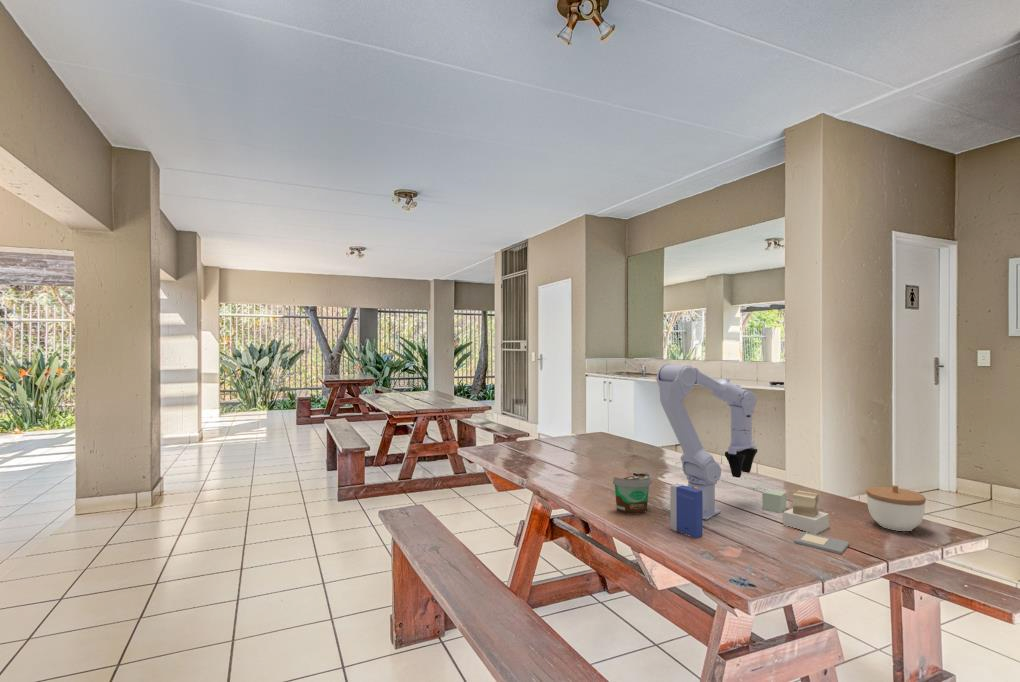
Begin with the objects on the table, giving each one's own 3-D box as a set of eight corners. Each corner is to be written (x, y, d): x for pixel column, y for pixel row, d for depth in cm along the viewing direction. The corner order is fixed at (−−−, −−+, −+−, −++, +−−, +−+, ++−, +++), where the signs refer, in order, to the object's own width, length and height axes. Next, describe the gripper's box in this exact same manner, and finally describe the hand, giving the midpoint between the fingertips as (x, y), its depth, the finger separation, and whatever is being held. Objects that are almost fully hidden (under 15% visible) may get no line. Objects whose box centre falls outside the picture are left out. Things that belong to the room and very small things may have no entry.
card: (841, 554, 121) (841, 551, 121) (793, 542, 128) (793, 539, 128) (849, 544, 127) (849, 541, 127) (803, 533, 134) (803, 531, 134)
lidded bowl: (928, 527, 138) (928, 485, 138) (921, 540, 129) (921, 495, 129) (871, 516, 147) (871, 476, 147) (861, 527, 138) (861, 485, 138)
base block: (815, 535, 133) (815, 520, 133) (783, 527, 140) (783, 512, 140) (828, 528, 138) (828, 513, 138) (797, 520, 145) (797, 506, 144)
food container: (625, 517, 146) (625, 482, 146) (612, 511, 152) (612, 476, 152) (660, 511, 151) (660, 477, 151) (647, 505, 157) (646, 472, 157)
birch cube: (814, 517, 135) (814, 498, 135) (792, 513, 139) (792, 494, 139) (818, 512, 139) (818, 494, 139) (797, 508, 142) (797, 490, 142)
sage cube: (780, 513, 150) (780, 495, 150) (762, 509, 153) (762, 492, 153) (786, 509, 154) (786, 492, 154) (768, 505, 157) (768, 488, 157)
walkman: (702, 536, 132) (702, 488, 132) (695, 538, 131) (695, 490, 131) (676, 527, 139) (676, 482, 139) (669, 529, 137) (669, 483, 137)
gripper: (745, 433, 148) (746, 481, 148) (763, 427, 159) (763, 472, 159) (721, 430, 153) (721, 477, 153) (740, 425, 163) (740, 468, 164)
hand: (741, 474), depth 156 cm, fingers open, 7 cm apart
